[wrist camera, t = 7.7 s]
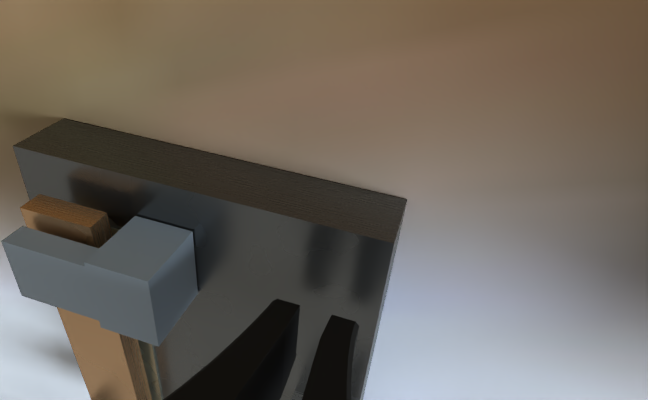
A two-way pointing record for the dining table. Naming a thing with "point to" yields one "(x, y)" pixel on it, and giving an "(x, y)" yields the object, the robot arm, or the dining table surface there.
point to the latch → (111, 276)
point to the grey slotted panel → (232, 241)
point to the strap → (83, 332)
